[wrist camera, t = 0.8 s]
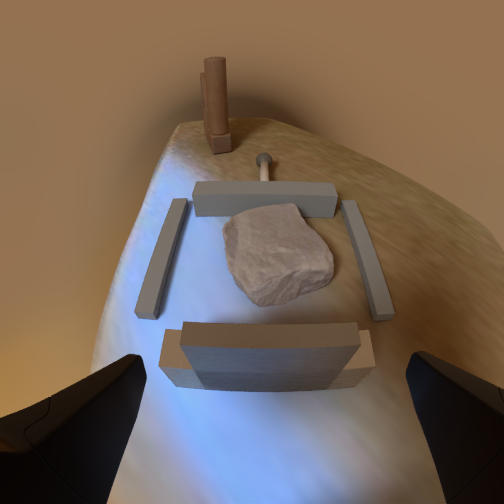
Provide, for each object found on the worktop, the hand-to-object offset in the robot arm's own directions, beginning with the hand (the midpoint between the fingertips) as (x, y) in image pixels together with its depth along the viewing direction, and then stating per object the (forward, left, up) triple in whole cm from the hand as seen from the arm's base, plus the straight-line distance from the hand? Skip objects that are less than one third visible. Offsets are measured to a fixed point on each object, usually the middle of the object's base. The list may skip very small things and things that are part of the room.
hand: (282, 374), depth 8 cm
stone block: (+18, -1, -15) cm, 23 cm away
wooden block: (+49, +9, -15) cm, 52 cm away
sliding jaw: (+5, 0, -14) cm, 15 cm away
